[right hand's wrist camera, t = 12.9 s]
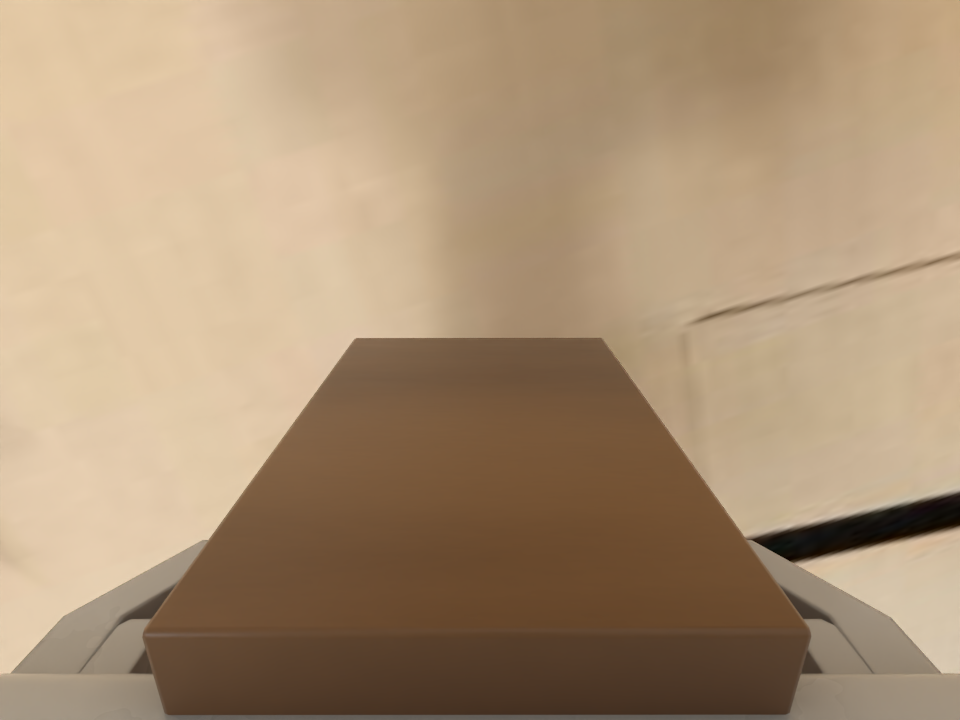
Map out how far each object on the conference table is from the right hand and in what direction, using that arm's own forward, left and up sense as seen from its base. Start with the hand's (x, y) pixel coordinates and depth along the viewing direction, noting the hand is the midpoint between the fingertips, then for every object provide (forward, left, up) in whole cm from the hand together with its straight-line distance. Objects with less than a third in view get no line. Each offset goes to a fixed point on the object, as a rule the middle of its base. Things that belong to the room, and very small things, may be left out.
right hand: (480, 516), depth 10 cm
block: (+6, -6, -3) cm, 9 cm away
